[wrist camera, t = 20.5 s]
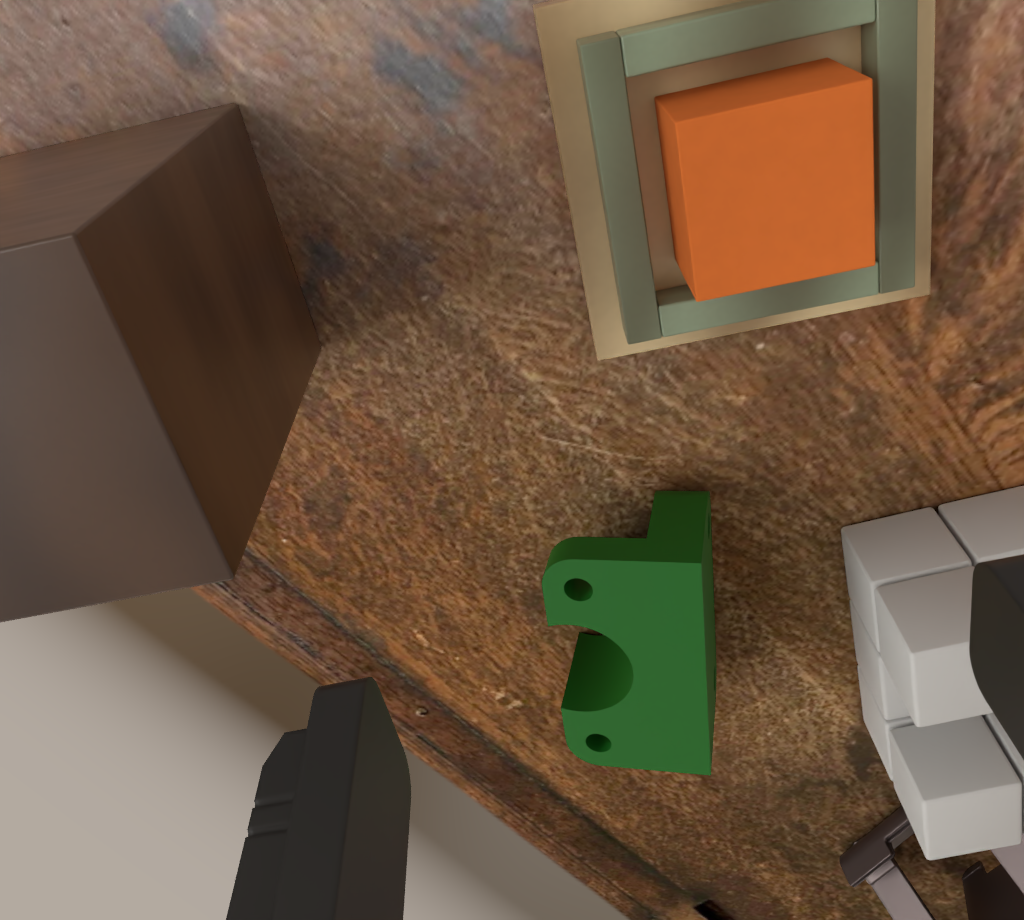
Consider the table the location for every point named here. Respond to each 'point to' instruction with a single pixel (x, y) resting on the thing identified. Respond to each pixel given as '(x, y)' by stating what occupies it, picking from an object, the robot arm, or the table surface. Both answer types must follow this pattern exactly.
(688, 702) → the clamp
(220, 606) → the table surface
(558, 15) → the square tray
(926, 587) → the gray cube puzzle piece
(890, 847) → the tablet stand
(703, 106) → the orange square block
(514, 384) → the table surface
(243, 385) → the stand
